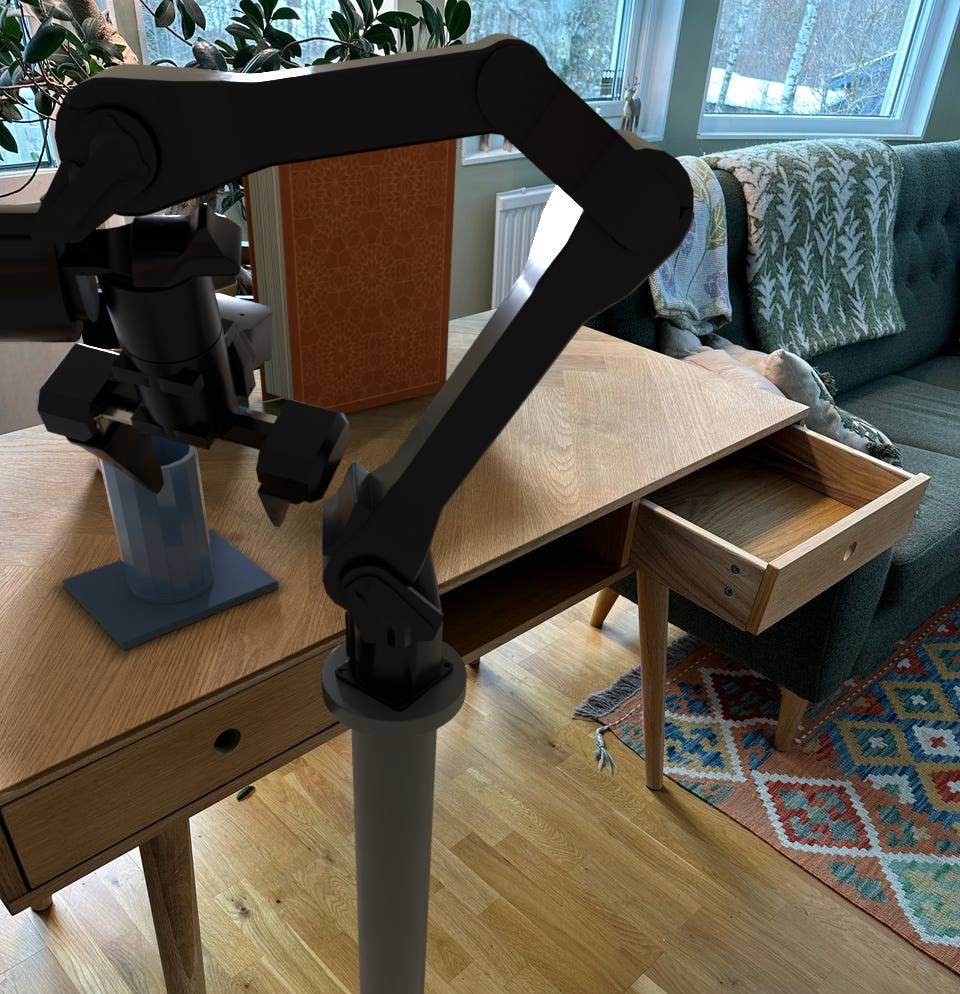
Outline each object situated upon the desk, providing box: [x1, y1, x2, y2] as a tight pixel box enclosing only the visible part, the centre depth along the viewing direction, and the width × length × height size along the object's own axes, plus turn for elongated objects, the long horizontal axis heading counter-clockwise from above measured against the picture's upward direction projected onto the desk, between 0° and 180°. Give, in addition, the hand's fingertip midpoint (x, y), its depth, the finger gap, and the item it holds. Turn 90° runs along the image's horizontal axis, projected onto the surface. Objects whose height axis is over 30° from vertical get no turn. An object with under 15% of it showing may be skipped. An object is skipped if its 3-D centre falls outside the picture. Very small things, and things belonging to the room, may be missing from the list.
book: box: [242, 139, 458, 415], centre depth 102 cm, size 23×8×30 cm, turn 129°
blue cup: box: [99, 435, 214, 604], centre depth 71 cm, size 7×7×12 cm
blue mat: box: [61, 528, 279, 651], centre depth 75 cm, size 14×11×1 cm
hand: (219, 505), depth 63 cm, fingers open, 9 cm apart
